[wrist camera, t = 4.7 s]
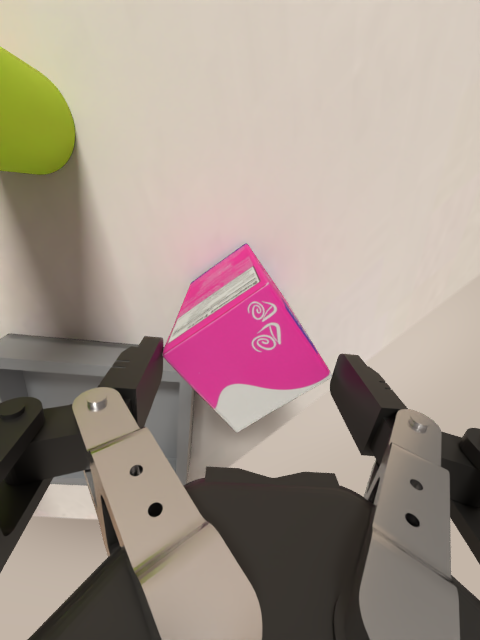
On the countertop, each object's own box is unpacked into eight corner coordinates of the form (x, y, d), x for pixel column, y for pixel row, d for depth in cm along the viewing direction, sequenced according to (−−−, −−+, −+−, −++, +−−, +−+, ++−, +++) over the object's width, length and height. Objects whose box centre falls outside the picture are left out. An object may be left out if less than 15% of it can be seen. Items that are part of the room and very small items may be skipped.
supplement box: (287, 297, 23) (337, 382, 13) (230, 334, 24) (232, 439, 14) (248, 238, 21) (269, 282, 10) (188, 282, 22) (152, 360, 12)
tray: (37, 450, 29) (14, 482, 26) (8, 333, 23) (-27, 355, 20) (190, 458, 30) (185, 489, 27) (197, 350, 25) (193, 372, 22)
